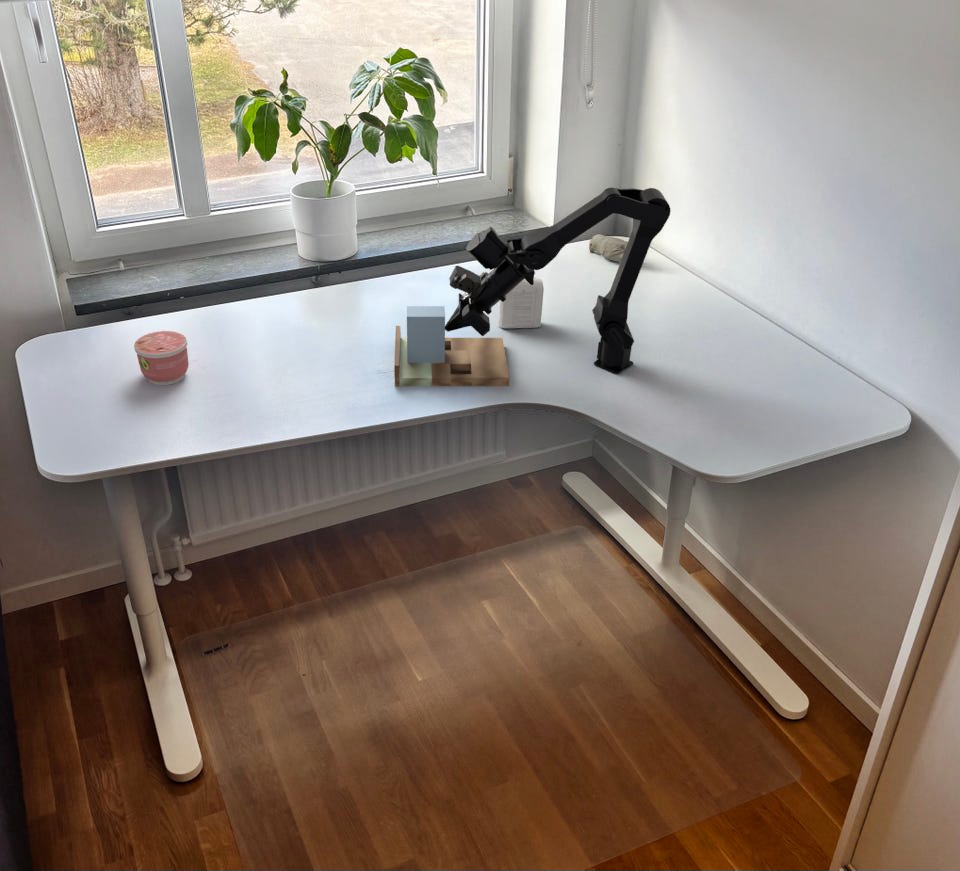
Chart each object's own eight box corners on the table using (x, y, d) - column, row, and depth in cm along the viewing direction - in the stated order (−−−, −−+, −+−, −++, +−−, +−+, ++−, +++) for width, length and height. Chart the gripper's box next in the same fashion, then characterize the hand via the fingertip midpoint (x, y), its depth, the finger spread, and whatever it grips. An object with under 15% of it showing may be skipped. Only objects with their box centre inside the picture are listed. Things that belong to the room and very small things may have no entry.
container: (138, 367, 203) (132, 334, 199) (189, 360, 206) (183, 327, 202) (142, 392, 195) (135, 357, 191) (194, 384, 198) (189, 350, 194)
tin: (444, 351, 209) (444, 306, 203) (444, 362, 205) (445, 316, 199) (407, 351, 208) (406, 306, 202) (407, 362, 204) (406, 316, 198)
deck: (502, 345, 216) (503, 325, 213) (508, 385, 201) (509, 365, 199) (396, 345, 215) (395, 325, 212) (394, 386, 200) (394, 365, 197)
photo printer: (539, 320, 227) (542, 272, 221) (542, 328, 224) (546, 280, 217) (496, 322, 226) (498, 273, 219) (499, 330, 223) (501, 281, 216)
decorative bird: (596, 249, 265) (598, 224, 261) (641, 268, 256) (645, 241, 252) (583, 254, 262) (585, 229, 258) (629, 273, 253) (632, 247, 248)
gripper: (470, 238, 202) (419, 286, 207) (475, 275, 186) (419, 325, 192) (506, 273, 207) (454, 319, 212) (513, 311, 191) (457, 359, 197)
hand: (445, 329), depth 203 cm, fingers closed
